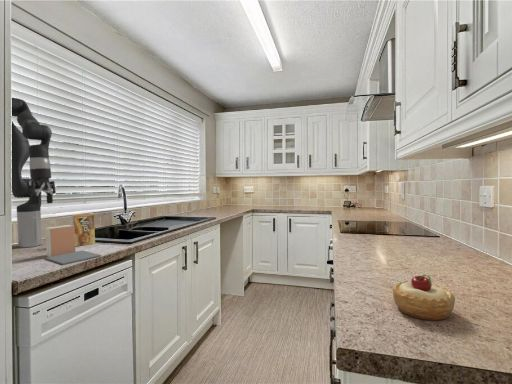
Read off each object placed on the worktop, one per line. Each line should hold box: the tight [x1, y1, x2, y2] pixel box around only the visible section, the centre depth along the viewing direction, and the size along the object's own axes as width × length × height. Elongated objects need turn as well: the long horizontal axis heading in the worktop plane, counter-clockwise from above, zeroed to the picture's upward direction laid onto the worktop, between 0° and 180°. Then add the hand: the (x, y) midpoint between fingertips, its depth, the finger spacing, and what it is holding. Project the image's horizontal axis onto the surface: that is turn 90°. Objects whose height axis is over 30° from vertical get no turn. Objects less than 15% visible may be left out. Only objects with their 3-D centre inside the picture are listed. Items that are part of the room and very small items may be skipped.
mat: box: [44, 250, 102, 266], centre depth 115 cm, size 16×14×1 cm
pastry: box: [392, 273, 456, 322], centre depth 63 cm, size 12×12×9 cm
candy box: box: [72, 212, 96, 247], centre depth 140 cm, size 9×4×15 cm, turn 129°
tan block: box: [45, 224, 76, 257], centre depth 121 cm, size 5×9×12 cm, turn 147°
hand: (43, 203), depth 128 cm, fingers open, 8 cm apart
